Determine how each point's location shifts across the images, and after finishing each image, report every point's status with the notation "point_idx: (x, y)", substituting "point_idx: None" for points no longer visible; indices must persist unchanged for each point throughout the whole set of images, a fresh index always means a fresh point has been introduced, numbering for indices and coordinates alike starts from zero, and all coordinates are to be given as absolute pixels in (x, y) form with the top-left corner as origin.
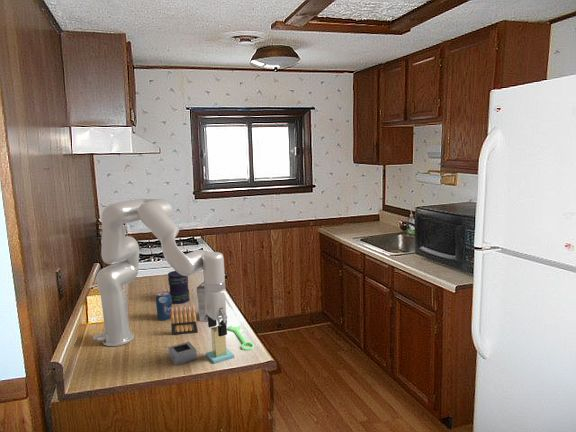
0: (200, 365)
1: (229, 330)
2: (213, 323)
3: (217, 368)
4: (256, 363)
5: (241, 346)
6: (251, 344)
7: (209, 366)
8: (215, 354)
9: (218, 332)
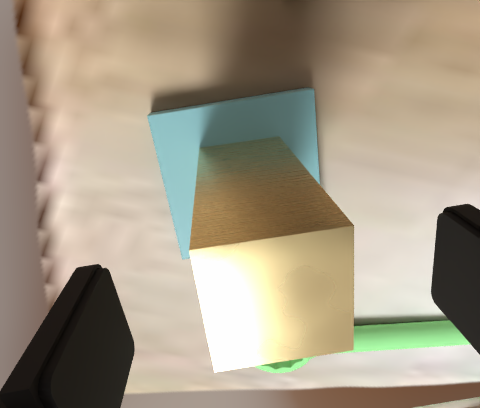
0: (165, 5)
1: None
2: (459, 289)
3: (69, 119)
4: None
5: None
6: (284, 363)
7: (121, 71)
8: (217, 149)
9: (59, 299)
